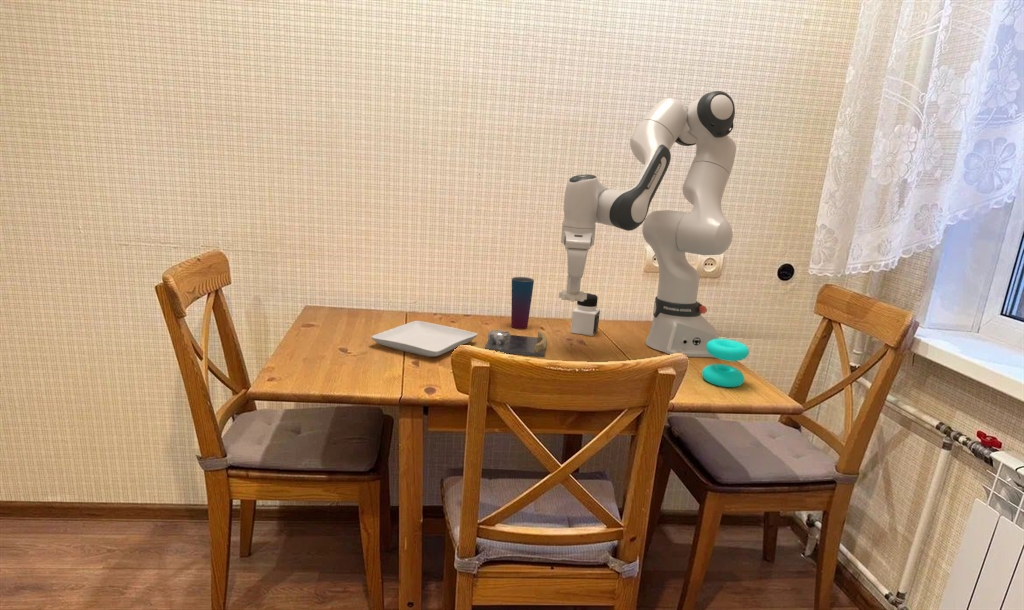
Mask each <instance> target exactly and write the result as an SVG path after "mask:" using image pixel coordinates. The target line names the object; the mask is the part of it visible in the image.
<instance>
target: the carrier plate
mask: <svg viewBox="0 0 1024 610" xmlns="http://www.w3.org/2000/svg"><path fill="white" fill-rule="evenodd" d="M487 334H488V335H487V342H486V344H485V346H484V348H485V349H489V350H495V351H500V352H504V353H503V354H505V353H510V354H509V355H515V354H516V355H517V356H526V357H527V356H529V357H539V358H545V354H546V346H547V336H546V334H545V333H544V332H542V331H538V332H537V336H536V337H535V336H525V335H515V334H513V335H512V334H511V333H510V332H509V331H508V330H503V329H498V330H495V329H491V331H490V330H488V333H487ZM521 354H522V355H521Z"/></svg>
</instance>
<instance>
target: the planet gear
mask: <svg viewBox="0 0 1024 610" xmlns="http://www.w3.org/2000/svg"><path fill="white" fill-rule="evenodd" d="M581 282H582V278H579V280H578V287H577V290H576V291H574V290H571V278H569V276H568V275H567V281H566V289H562V290H561V291H559V292H558V298H560V299H561V300H562V301H570V302H577V301H581V302H582V301H584V300H587V294H586V293H587V292H584V291H583V290H581V284H582V283H581Z"/></svg>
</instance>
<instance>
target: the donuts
mask: <svg viewBox="0 0 1024 610" xmlns="http://www.w3.org/2000/svg"><path fill="white" fill-rule="evenodd" d="M706 348H707V351H708V352H709V353H710V354H711V355H712V356H714V357H713V358H716V359H719V360H723V361H729V362H739V361H742V360H745V359H746V358H747V357H748V356H749V354H750V350H749V348H748V346H747V345H746V344H744V343H742V342H740V341H736V340H733V339H727V338H719V339H713V340H710V341H709V342H708V343H707V345H706ZM701 372H702V373H701V374H702V378H703V379H704V380H705V381H706V382H708V383H709V384H711V385H715V386H718V387H723V388H736V387H740V386H741V385H742V384H744V382H745V376H744V373H743V372H742V371H741V370H740V369H738V368H736V367H734V366H731V365H728V364H721V363H713V364H709V365H706V366H705V367H704V368H703V369H702V371H701Z"/></svg>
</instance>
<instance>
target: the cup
mask: <svg viewBox="0 0 1024 610" xmlns="http://www.w3.org/2000/svg"><path fill="white" fill-rule="evenodd" d="M534 284H535V279H534V278H532V277H528V276H513V277H512V278H511V311H510V312H511V315H510V316H511V318H510V320H511V323H510V324H511V328H514V329H519V330H525V329H527V328H528V327H529V319H530V312H531V305H532V299H533V298H532V297H533V290H534Z"/></svg>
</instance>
